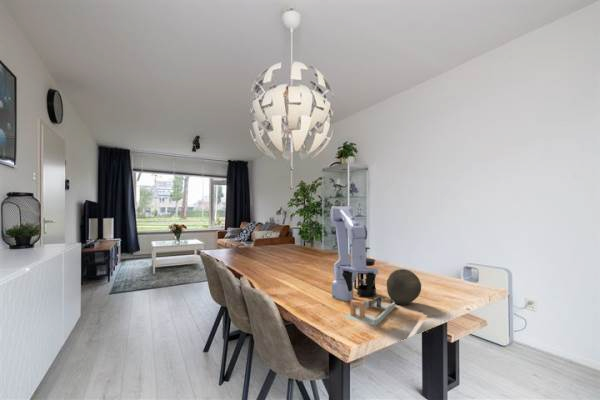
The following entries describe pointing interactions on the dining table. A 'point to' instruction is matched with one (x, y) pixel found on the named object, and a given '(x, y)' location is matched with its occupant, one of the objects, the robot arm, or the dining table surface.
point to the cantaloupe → (403, 286)
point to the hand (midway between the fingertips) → (359, 291)
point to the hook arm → (377, 299)
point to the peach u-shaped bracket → (353, 307)
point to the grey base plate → (370, 318)
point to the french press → (365, 281)
